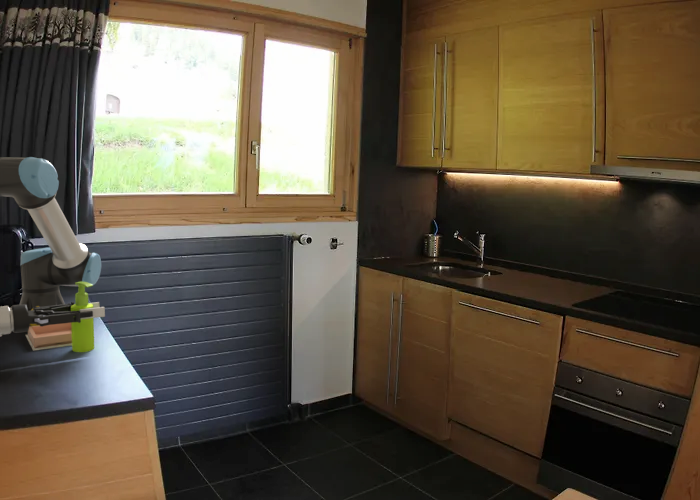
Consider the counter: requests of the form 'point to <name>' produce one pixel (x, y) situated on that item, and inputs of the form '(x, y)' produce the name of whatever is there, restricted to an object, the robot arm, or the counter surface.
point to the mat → (46, 347)
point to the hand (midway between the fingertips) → (101, 309)
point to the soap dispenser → (82, 322)
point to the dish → (50, 335)
